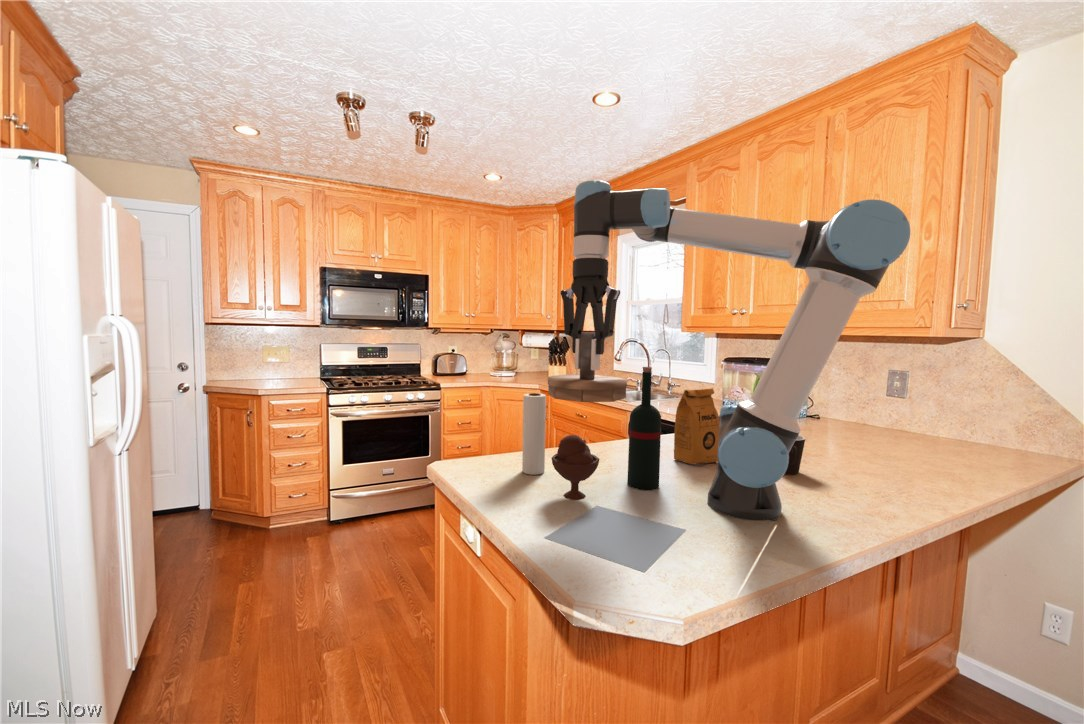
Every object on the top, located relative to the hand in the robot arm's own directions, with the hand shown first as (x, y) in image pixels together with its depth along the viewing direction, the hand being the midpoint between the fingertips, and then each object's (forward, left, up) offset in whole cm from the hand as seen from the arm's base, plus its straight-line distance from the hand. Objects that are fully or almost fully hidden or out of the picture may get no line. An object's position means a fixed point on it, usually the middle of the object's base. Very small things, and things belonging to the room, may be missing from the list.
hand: (587, 368), depth 102 cm
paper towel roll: (+24, -14, -31) cm, 41 cm away
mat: (-12, +8, -31) cm, 34 cm away
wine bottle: (-3, -23, -31) cm, 38 cm away
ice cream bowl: (+5, -4, -31) cm, 31 cm away
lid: (0, 0, -6) cm, 6 cm away
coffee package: (-8, -52, -31) cm, 61 cm away
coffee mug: (-31, -57, -31) cm, 72 cm away
